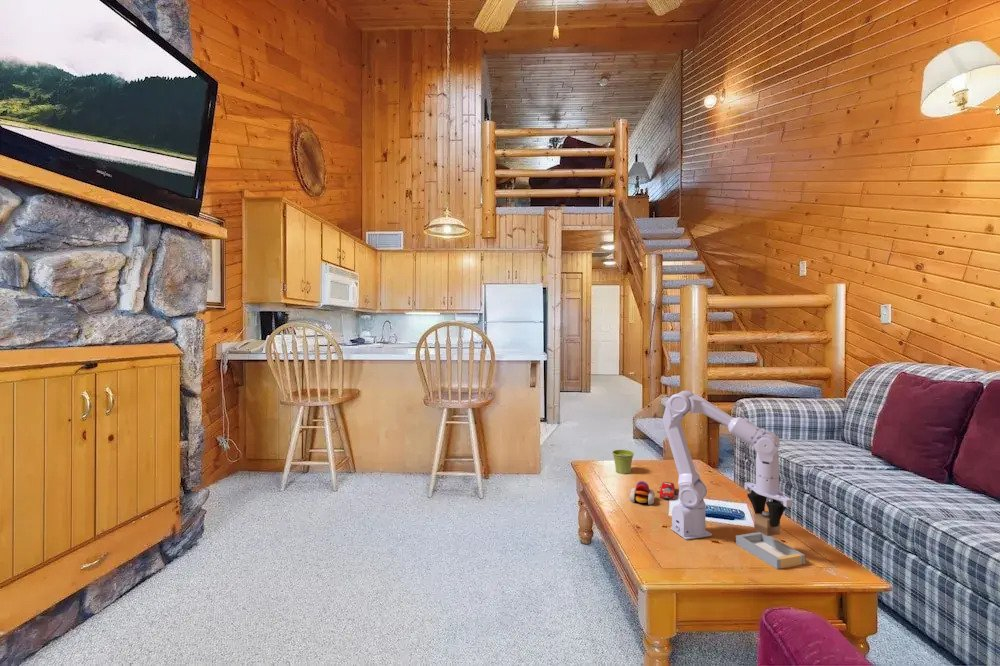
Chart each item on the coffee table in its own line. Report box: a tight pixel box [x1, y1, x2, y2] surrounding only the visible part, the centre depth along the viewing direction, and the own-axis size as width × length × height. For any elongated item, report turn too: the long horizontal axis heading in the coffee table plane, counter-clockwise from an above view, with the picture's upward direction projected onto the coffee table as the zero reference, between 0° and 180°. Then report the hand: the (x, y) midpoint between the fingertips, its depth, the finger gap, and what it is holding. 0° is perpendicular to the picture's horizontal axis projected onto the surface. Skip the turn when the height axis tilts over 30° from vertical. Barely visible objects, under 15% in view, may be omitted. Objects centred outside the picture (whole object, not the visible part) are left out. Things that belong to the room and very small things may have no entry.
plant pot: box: [611, 449, 635, 475], centre depth 200 cm, size 9×9×9 cm
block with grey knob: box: [753, 510, 781, 537], centre depth 129 cm, size 4×4×6 cm
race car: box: [659, 481, 676, 500], centre depth 174 cm, size 13×5×4 cm, turn 156°
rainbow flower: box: [629, 480, 656, 506], centre depth 167 cm, size 8×10×7 cm
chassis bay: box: [735, 531, 806, 570], centre depth 128 cm, size 9×14×2 cm, turn 15°
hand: (767, 522), depth 129 cm, fingers closed on block with grey knob, 4 cm apart
